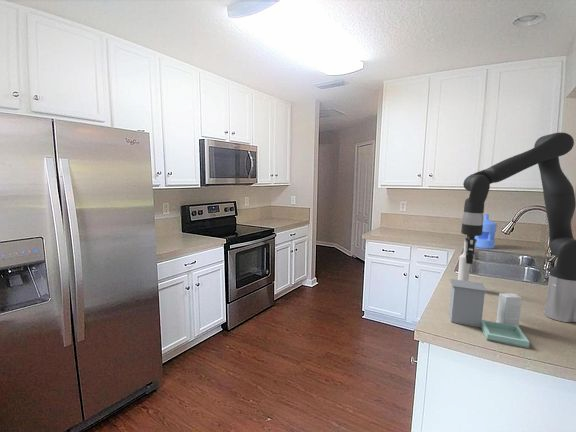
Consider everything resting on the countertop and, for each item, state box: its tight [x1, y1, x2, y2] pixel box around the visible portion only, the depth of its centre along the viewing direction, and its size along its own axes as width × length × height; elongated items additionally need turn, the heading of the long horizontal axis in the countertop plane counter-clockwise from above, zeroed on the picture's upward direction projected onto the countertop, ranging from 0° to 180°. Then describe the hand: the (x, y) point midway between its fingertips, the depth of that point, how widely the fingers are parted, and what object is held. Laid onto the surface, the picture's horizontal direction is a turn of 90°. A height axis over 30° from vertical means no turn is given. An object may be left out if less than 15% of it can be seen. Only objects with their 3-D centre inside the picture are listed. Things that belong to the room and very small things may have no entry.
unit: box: [448, 278, 488, 328], centre depth 120 cm, size 11×9×15 cm
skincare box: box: [495, 292, 523, 328], centre depth 117 cm, size 6×4×12 cm
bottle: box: [457, 241, 471, 281], centre depth 156 cm, size 5×5×25 cm
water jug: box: [475, 213, 498, 250], centre depth 255 cm, size 16×16×28 cm
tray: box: [480, 319, 531, 349], centre depth 109 cm, size 12×12×2 cm
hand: (468, 261), depth 128 cm, fingers open, 8 cm apart
